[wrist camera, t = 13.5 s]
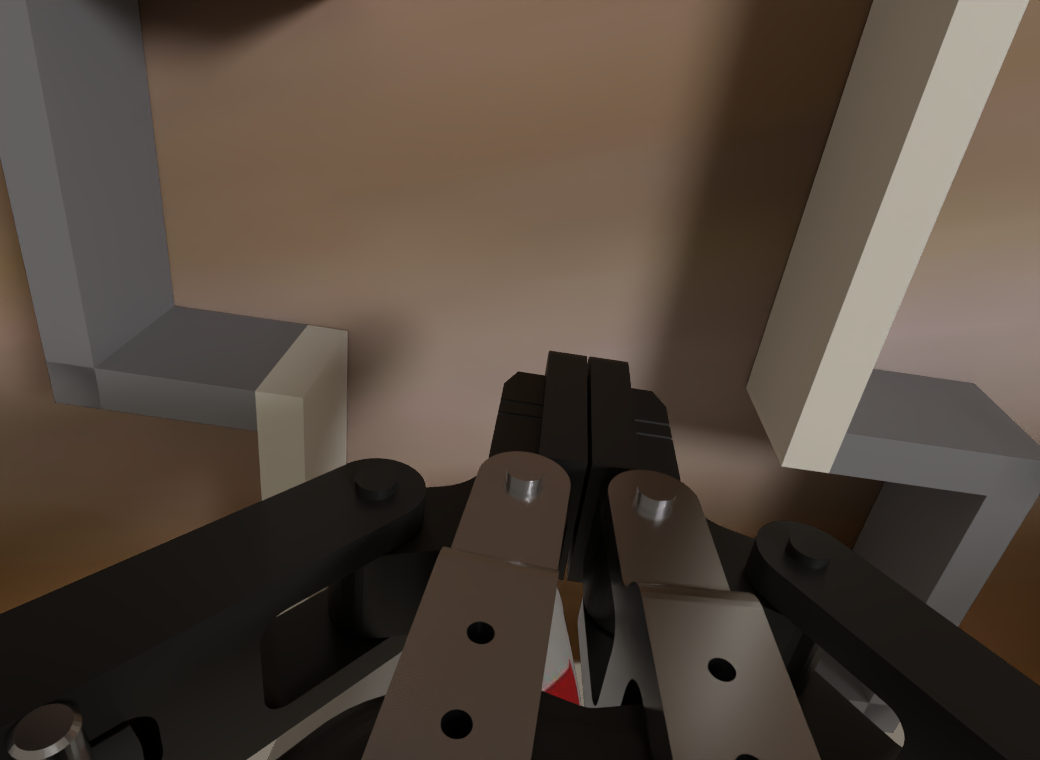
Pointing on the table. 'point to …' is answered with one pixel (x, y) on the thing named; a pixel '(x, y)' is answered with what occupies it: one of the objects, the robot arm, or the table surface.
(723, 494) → the table surface
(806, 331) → the box
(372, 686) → the cup
